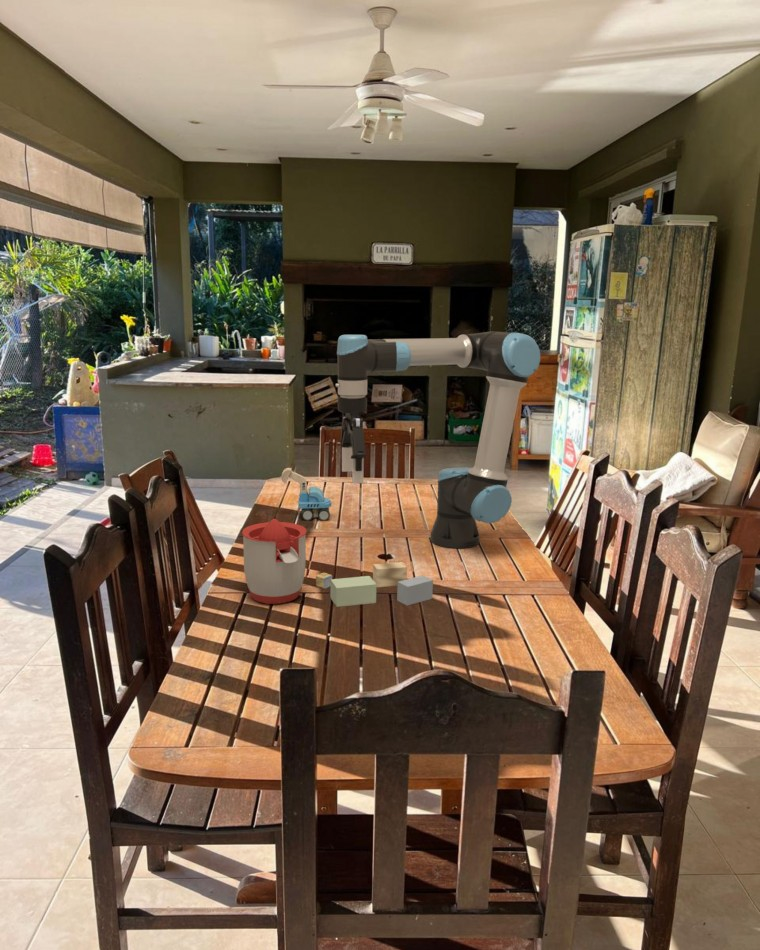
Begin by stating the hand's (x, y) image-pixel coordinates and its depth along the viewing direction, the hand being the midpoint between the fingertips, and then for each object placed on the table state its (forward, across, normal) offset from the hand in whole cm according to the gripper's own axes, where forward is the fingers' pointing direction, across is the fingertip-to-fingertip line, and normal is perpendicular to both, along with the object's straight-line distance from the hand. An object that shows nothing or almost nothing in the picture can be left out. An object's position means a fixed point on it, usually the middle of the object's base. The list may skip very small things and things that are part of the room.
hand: (352, 477), depth 198 cm
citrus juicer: (+27, +13, -22) cm, 37 cm away
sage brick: (+27, +18, -4) cm, 33 cm away
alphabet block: (+27, +7, -9) cm, 29 cm away
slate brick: (+27, +20, +12) cm, 36 cm away
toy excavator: (+27, -56, -4) cm, 62 cm away
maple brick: (+27, +9, +8) cm, 30 cm away
